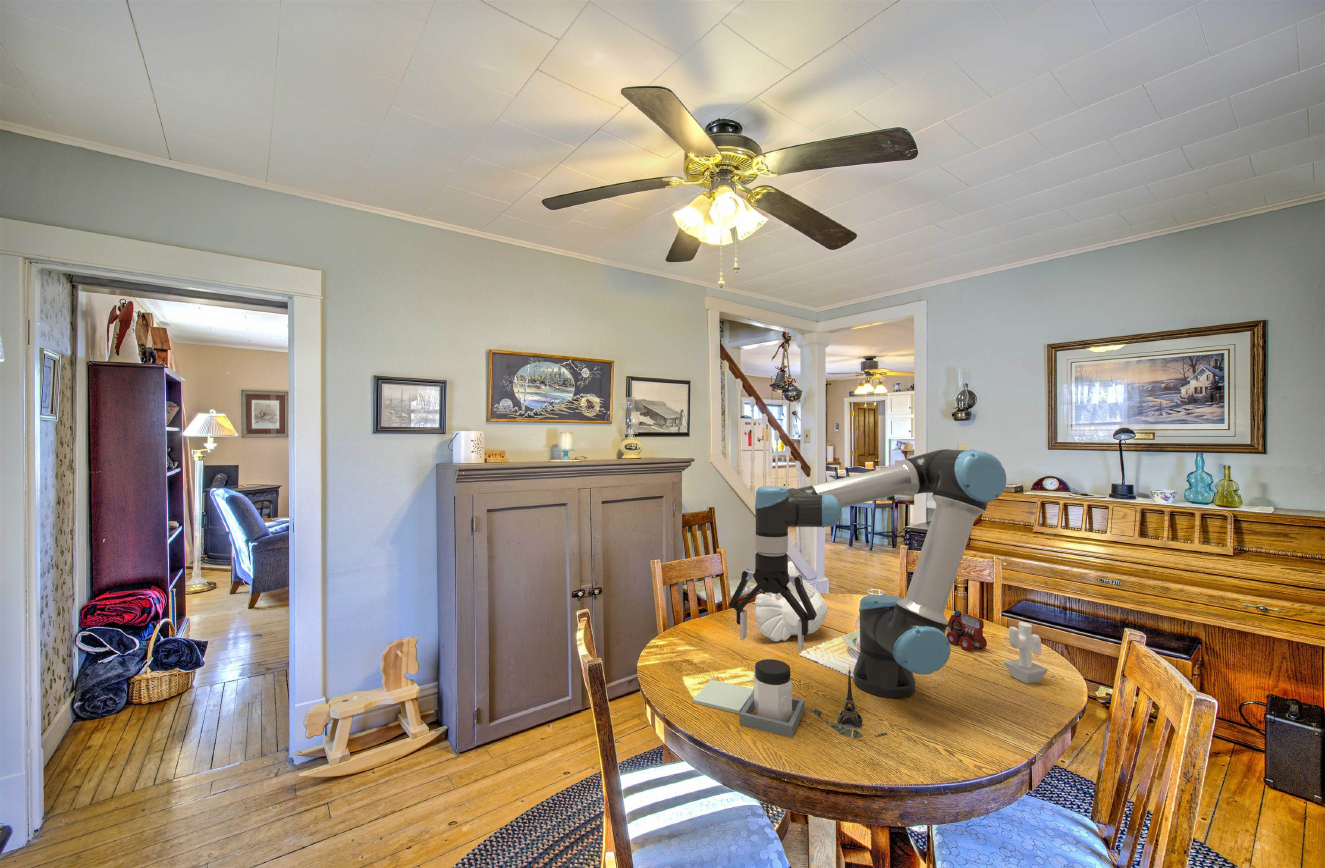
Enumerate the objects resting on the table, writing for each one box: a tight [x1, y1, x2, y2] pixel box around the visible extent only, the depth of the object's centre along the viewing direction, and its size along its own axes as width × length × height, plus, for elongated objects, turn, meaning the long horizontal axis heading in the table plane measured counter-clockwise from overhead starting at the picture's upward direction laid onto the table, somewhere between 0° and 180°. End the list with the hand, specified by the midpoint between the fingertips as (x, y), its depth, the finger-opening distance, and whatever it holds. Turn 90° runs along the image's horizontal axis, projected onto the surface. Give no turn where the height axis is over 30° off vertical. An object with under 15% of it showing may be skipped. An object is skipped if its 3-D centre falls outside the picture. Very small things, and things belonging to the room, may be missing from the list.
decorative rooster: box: [754, 561, 828, 643], centre depth 176 cm, size 25×16×25 cm
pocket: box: [738, 693, 806, 739], centre depth 124 cm, size 12×13×2 cm
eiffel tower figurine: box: [810, 665, 888, 739], centre depth 122 cm, size 15×10×13 cm
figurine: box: [1003, 621, 1050, 684], centre depth 143 cm, size 7×9×15 cm
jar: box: [753, 658, 793, 723], centre depth 124 cm, size 9×8×12 cm
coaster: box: [692, 679, 754, 714], centre depth 134 cm, size 12×12×1 cm
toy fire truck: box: [945, 610, 988, 652], centre depth 165 cm, size 7×12×10 cm, turn 17°
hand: (771, 643), depth 124 cm, fingers open, 13 cm apart
